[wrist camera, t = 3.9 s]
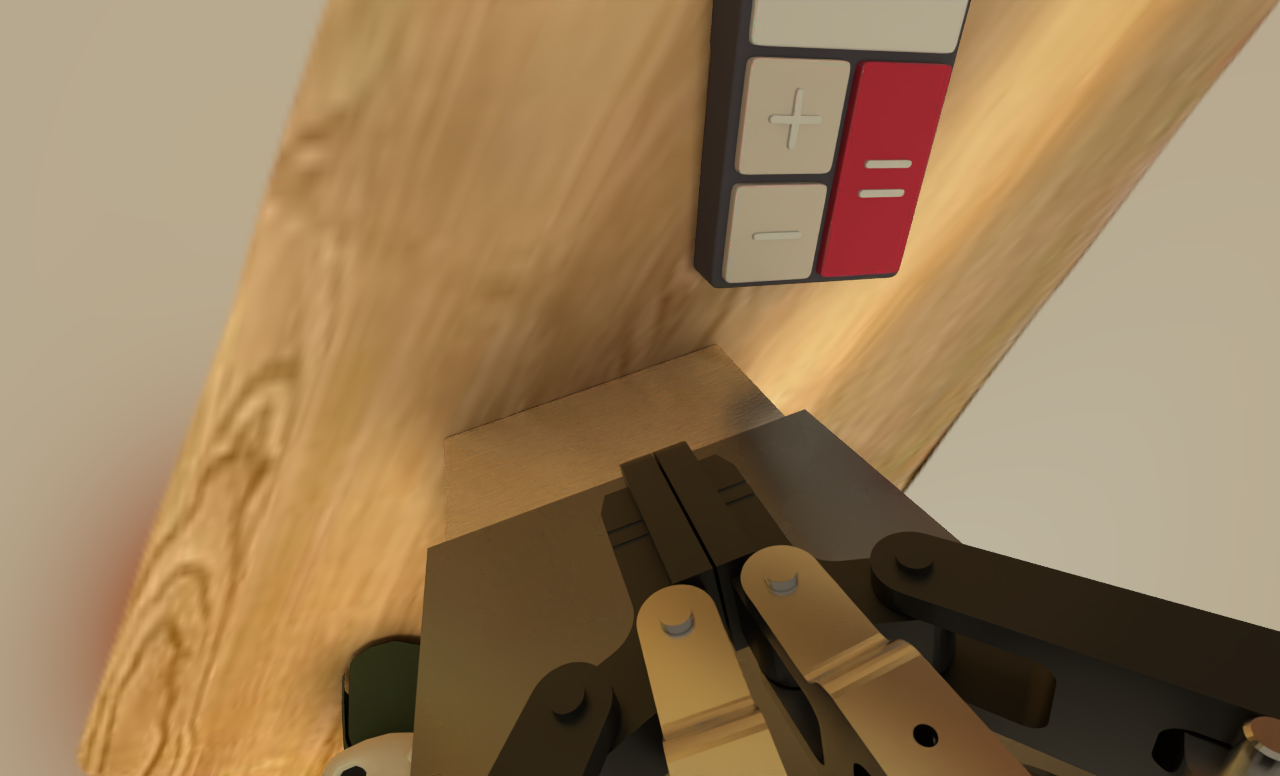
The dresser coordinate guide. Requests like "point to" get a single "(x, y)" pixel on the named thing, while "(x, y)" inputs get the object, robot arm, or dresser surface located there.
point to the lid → (622, 593)
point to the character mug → (378, 712)
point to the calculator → (819, 135)
